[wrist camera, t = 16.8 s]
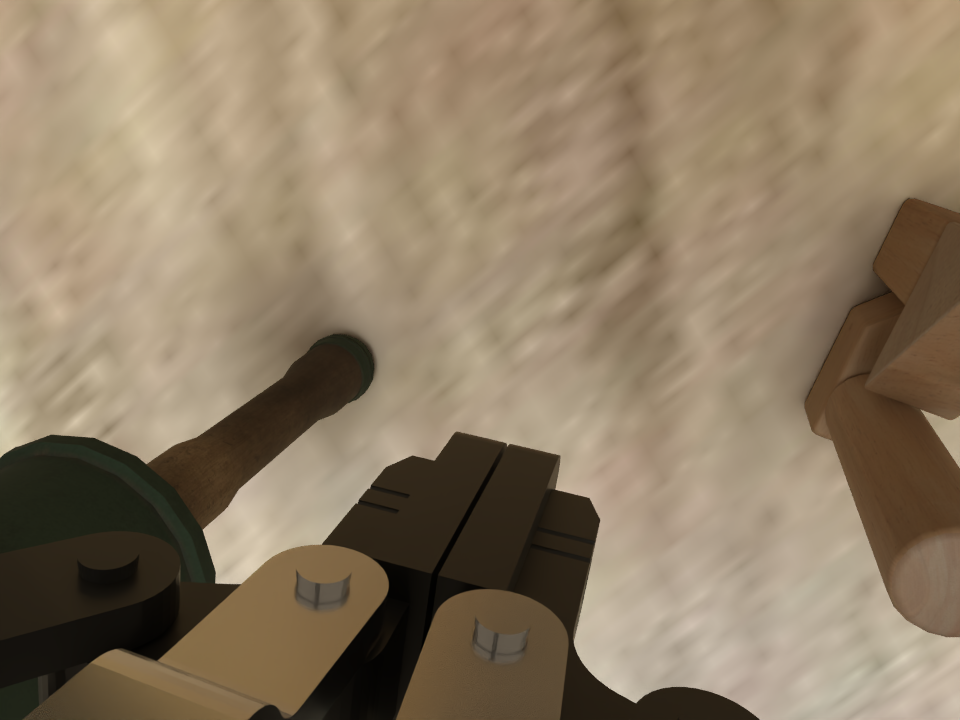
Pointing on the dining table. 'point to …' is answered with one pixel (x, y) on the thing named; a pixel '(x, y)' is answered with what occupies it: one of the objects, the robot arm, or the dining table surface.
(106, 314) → the dining table surface
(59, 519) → the potato masher grenade
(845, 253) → the dining table surface
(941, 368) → the wooden block
